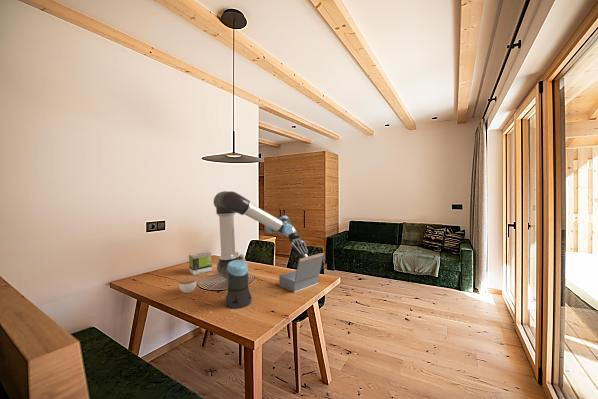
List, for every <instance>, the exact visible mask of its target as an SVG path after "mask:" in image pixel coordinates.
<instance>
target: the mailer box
mask: <svg viewBox="0 0 598 399" xmlns="http://www.w3.org/2000/svg"><path fill="white" fill-rule="evenodd" d="M296 272H297V269H296V270H293V271H290V272H285V273H283V274H280V275H279V277H278V281H279V283H278V284H279V285H278V286H280V287H282V288H284V289H286V290H289V291H290V292H293V293H297V292H301V291H302V290H306V289H308V288H310V287H311V288H312V287H313V286H315V285H318V284H319V280H320V279H319V275H320V274H318V275H315V276H312V277H309V278H306V279H303V280H301V281H298V282H295V277H296Z"/></svg>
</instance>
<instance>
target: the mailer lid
mask: <svg viewBox="0 0 598 399" xmlns="http://www.w3.org/2000/svg"><path fill="white" fill-rule="evenodd" d="M324 254H325V253H324V252H322V253H321V252H320V253H317V254H313V255H310V256H309V255H308V257H305V258H303V257H300V258H298V263H297V267H296V270H297V272H296V277H295V282H298V281H301V280H303V279H306V278H309V277H312V276H315V275H318V274H319V275H320V274H321V269H322V264H323V261H324Z"/></svg>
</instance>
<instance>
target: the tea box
mask: <svg viewBox="0 0 598 399" xmlns="http://www.w3.org/2000/svg"><path fill="white" fill-rule="evenodd" d="M212 258H213V257H212V253H211V252H209V251H207V250H206V251H201V252H195V253H190V254H188V264H189V266H188V267H189V273H190V274H191V275H193V276H195V275H199V274H204V273H208V272H212V271H213V263H212V262H213V261H212V260H213V259H212Z"/></svg>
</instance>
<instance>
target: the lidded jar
mask: <svg viewBox="0 0 598 399" xmlns="http://www.w3.org/2000/svg"><path fill="white" fill-rule="evenodd" d="M178 286H179V290H180V291H181V292H182V293H184V294H188V293H192V292H193V291H194V290H195V288H196V287H197V277H196V276H185V277H181V278H180V279H178Z"/></svg>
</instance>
